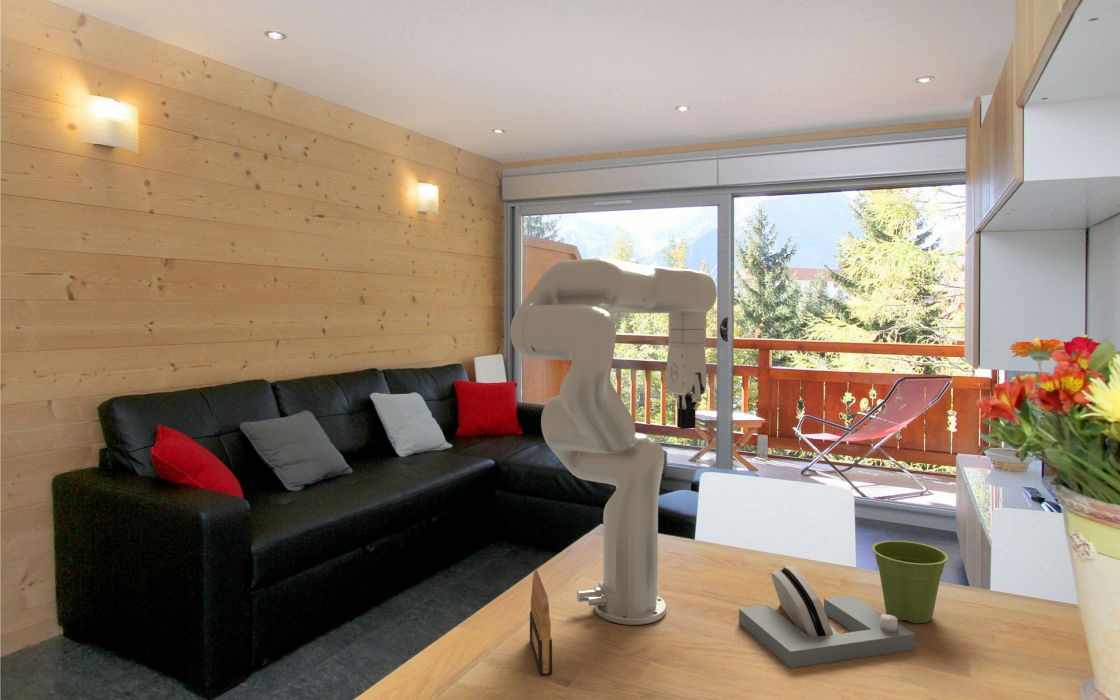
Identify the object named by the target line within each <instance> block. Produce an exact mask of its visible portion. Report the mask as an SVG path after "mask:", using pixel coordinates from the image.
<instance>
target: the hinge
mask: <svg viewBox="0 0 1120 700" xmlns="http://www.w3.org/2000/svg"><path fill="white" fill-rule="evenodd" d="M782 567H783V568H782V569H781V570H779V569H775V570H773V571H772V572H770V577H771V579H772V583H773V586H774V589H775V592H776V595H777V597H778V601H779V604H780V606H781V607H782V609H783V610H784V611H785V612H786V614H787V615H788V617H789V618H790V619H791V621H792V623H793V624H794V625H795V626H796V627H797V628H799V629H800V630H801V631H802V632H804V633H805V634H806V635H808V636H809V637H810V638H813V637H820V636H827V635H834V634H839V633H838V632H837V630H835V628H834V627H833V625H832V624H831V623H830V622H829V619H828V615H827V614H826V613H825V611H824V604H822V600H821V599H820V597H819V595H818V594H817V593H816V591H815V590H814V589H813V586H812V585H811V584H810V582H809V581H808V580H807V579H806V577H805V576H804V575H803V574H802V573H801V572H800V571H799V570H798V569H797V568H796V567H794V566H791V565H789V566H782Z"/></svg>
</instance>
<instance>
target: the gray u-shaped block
mask: <svg viewBox="0 0 1120 700" xmlns="http://www.w3.org/2000/svg"><path fill="white" fill-rule="evenodd" d="M823 608H824V611H825V613H826V616H827V617H828V616H829V617H830V618H831V619H833V620H834V621H835V622H837V623H838V624H840V625H842V626H843V627H845V628H846V629H847V630H849V632H843V633H838V634H834V635H827V636H820V637H813V638H810V637H809V636H808V635H806V634H805V633H804V632H802V631H801V630H800V629H799V628H798V627H797V626H796V625H795V624H794V623H793V622H791V621H790V620H788V619H787V618H786V617H784V616H783V615H781V614H780V613H779V612H777V610H775V608H773V607H771V606H770V605H767V604H766V605H759V606H753V607H752V606H750V607H743V608H742V607H741V608H738V624H739V625H740V626H741V627H742V628H744V629H745V630H746V631H747V632H748V633H750V634H751V635H752V636H753V637H754V638H755V639H756V640H757V641H758V642H760V643H761V644H762V645H763V646H764V647H765V648H767V649H768V651H770V652H771V653H772V654H773V655H774V656H775V657H776V658H778V659H779V660H780V661H781V662H783V664H785V665H786V666H787V667H788V668H789V669H793V668H799V667H808V666H814V665H819V664H828V663H833V662H839V661H840V662H841V661H848V660H854V659H859V658H868V657H873V656H881V655H887V654H893V653H894V654H895V653H900V652H908V651H915V650H916V633H915V632H913V631H911V630H909V629H908V628H907V627H904V626H903V625H901V624H900V623H898V619H897V618H896V617H895V616H893V615H889V614H888V613H881V612H880V611H878V610H876V609H875V608H873V607H871V606H870V605H868V604H866V603H865V602H863V601H862V600H860V599H858V598H857V597H855V596H853V595H852V594H849V595H842V596H834V597H833V596H832V597H825V598H823Z"/></svg>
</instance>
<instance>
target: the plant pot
mask: <svg viewBox="0 0 1120 700" xmlns="http://www.w3.org/2000/svg"><path fill="white" fill-rule="evenodd" d="M871 551H872V553H873V554H874V555H875V559H876V560H875V561H876V565H877V567H878V572H879V576H880V577H879V578H880V583H881V589H882V590H881V591H882V596H883V602H884V608H885V609H884V610H885V611H886V614H888V615H893V616H895V617H896V618H897V621H907V622H910V623H913V624H923V623H929V622H930V621H931V620H932V619H933V618H934V617H933V616H934V611H935V606H936V601H937V596H938V591H939V587H940V586H939V585H940V581H941V577H942V576H941V575H942V574H943V571H944V567H945V564H946V563H947V562H948V561H949V555H948V554H947V553H946V552H945V551H943V550H941V549H940V548H937V547H935V546H932V545H928V544H924V543H920V542H913V541H907V540H884V541H879V542H876V543H874V544H873V545H872V546H871Z"/></svg>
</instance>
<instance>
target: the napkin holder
mask: <svg viewBox="0 0 1120 700" xmlns="http://www.w3.org/2000/svg"><path fill="white" fill-rule="evenodd" d="M543 584H544V583H543V582H542V579H541V577H540V575H539V572H538V569H535V570H534V572H533V574H532V587H531V595H530V611H529V644H530V647H531V650H532V654H533V657H534V661H535V665H536V668H537V671H538V675H539V676H548V675H549V676H550V675H552V674H553V639H552V636H551V635H552V634H551V633H552V632H551V631H552V630H551V617H550V605H549V604H550V603H549V598H548V594H547V592H546V590H545V587H544V585H543Z"/></svg>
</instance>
